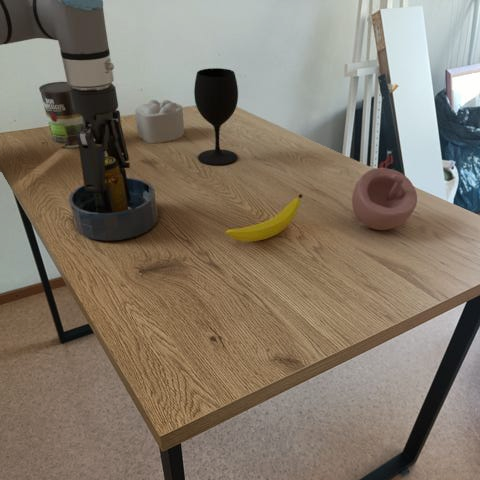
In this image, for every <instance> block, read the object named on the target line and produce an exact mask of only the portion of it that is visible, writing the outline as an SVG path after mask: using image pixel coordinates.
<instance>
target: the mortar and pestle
mask: <svg viewBox="0 0 480 480" xmlns="http://www.w3.org/2000/svg"><path fill="white" fill-rule="evenodd" d="M417 203H418V194H417V191H416V188H415V186H414V185H413V183H412V182H411V179H409V178H408V177H407V175H405V174H404V173H402V172H400V171H398V170H395V169H391V168H388V167H378V168H371V169H370V170H368V171H366V172H365V173H364V174H363V175H362V176H361V177H360V178H359V179H358V180H357V182H356V184H355V186H354V187H353V190H352V195H351V205H352V209H353V213H354V215H355V216H356V218H357V219H358V220H359V221H360V223H361V224H363V225H364V226H366V227H367V228H370V229H373V230H377V231H387V230H392V229H395V228H397V227H400V225H402V224H404V223H405V222H406V221H408V219H409V218H410V217H411V215H412V214H413V213H414V211H415V209H416V207H417Z"/></svg>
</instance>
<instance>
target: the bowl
mask: <svg viewBox="0 0 480 480" xmlns="http://www.w3.org/2000/svg"><path fill="white" fill-rule="evenodd" d="M127 183H128V189H129V195H130V201H129V202H128V201H127V204H128V207H130V208H132V209H130V210H126V211H121V212H116V213H98V212H97V209H96V204H95V199H94V194H93V192H91V191H85V187H84V184H82V185H80V186H78V187H76V188H75V189H74V190H73V191H72V192H70V195H69V198H68V203H69V207H70V211H71V215H72V219H73V222H74V223H73V224H74V226H75V228H76V231H77V232H78V233H80V234H81V235H82V236H83V237H85V238H86V237H87V238H88V239H93V240H97V241H106V242H107V241H108V242H110V241H122V240H127V239H130V238H131V239H132V238H135V237H138V236H140V235H142V234H144V233H147V232H148V231H149V230H151V229H152V228H154V227H155V225H156V223H157V222H158V220H159V216H158V215H159V214H158V205H157V198H156V190H155V188H154V187H153V186H152V184H150V183H149V182H147V181H145V180H142V179H140V178H135V177H127Z"/></svg>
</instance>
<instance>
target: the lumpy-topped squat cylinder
mask: <svg viewBox="0 0 480 480" xmlns="http://www.w3.org/2000/svg"><path fill="white" fill-rule="evenodd" d="M134 114H135V121H136V130H137V136H138V138H139V139H142V140H144V141H145V142H146V143H148V144H161V143H167V142H170V141H171V142H172V141H174V140H178V139H180V138H182V137H183V136H184V135H185V125H184V124H185V123H184V111H183V105H181V104H179V103H176V102H173V101H171V100H168V99H164V100H162V101H160V102H159V101H158V100H156V99H151V100H149V101H148V102H147V103H144V104H141V105H140V106H138V107H136V108H135V109H134Z"/></svg>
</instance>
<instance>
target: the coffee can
mask: <svg viewBox="0 0 480 480" xmlns="http://www.w3.org/2000/svg"><path fill="white" fill-rule="evenodd" d="M70 87H71V86H70V85H69V84H68V83H67V81H54V82H47V83H45V84H44V83H43V84H42V85H40V86H39V88H38V90H39V93H40V95H41V100H42V103H43V107H44V111H45V114H46V119H47V123H48V126H49V130H50V134H51V139H52V141H53V142H54V143H57V144H61V145H62V144H63V146H61V149H77V148H79V146H78V142H77V139H76V132H82V131H83V130H84V128H83V117H82V116H81V115H80V114H79V113H76V112H75V111H74V109H73V106H72V102H71V97H70V92H69V89H70Z"/></svg>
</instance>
